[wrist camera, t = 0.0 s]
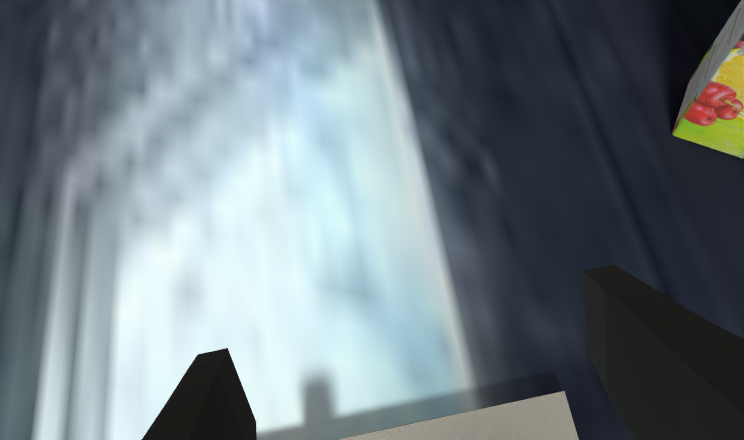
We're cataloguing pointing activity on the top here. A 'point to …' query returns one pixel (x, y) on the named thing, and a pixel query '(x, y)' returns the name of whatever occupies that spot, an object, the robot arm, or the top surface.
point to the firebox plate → (493, 423)
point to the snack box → (717, 93)
